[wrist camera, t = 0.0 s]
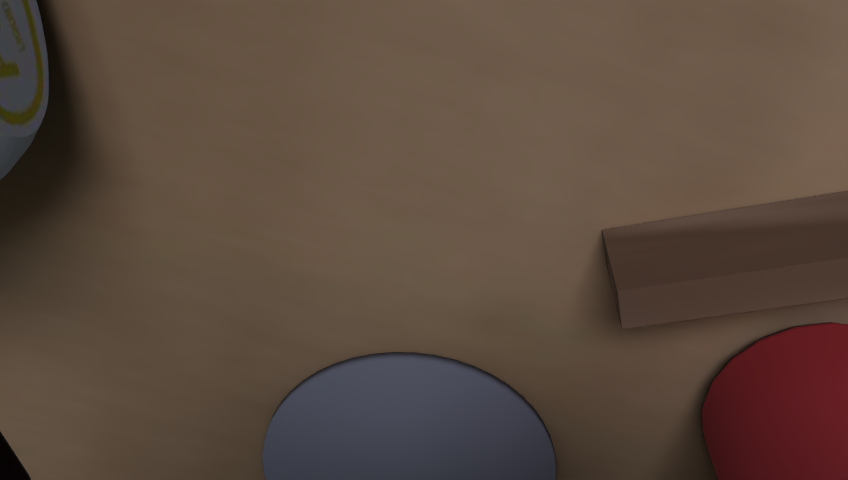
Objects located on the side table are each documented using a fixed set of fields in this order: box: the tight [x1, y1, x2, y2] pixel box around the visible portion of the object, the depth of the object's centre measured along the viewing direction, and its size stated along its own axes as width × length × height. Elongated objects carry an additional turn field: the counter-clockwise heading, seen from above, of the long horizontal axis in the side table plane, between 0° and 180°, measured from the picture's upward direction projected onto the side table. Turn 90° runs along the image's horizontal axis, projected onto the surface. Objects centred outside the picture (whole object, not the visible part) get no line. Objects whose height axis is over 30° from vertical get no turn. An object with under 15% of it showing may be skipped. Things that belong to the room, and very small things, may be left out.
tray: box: [602, 191, 848, 329], centre depth 24 cm, size 14×12×3 cm
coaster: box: [263, 352, 556, 480], centre depth 28 cm, size 10×10×1 cm
